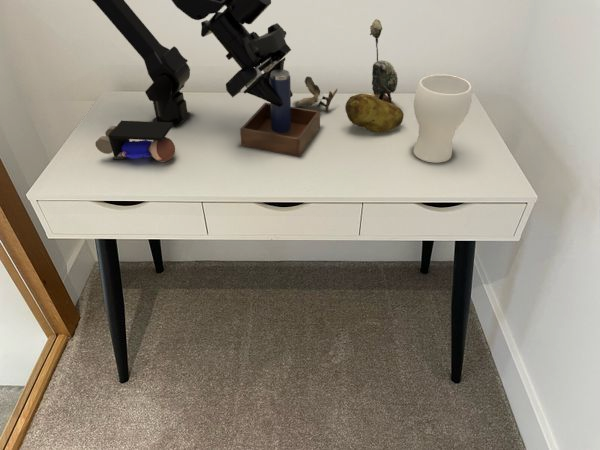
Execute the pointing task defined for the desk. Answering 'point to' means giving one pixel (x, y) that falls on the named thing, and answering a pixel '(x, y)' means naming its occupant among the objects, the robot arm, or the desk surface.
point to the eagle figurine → (315, 95)
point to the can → (283, 90)
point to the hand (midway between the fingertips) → (286, 101)
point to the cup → (439, 114)
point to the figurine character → (133, 149)
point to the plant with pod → (382, 72)
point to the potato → (373, 113)
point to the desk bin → (289, 142)
